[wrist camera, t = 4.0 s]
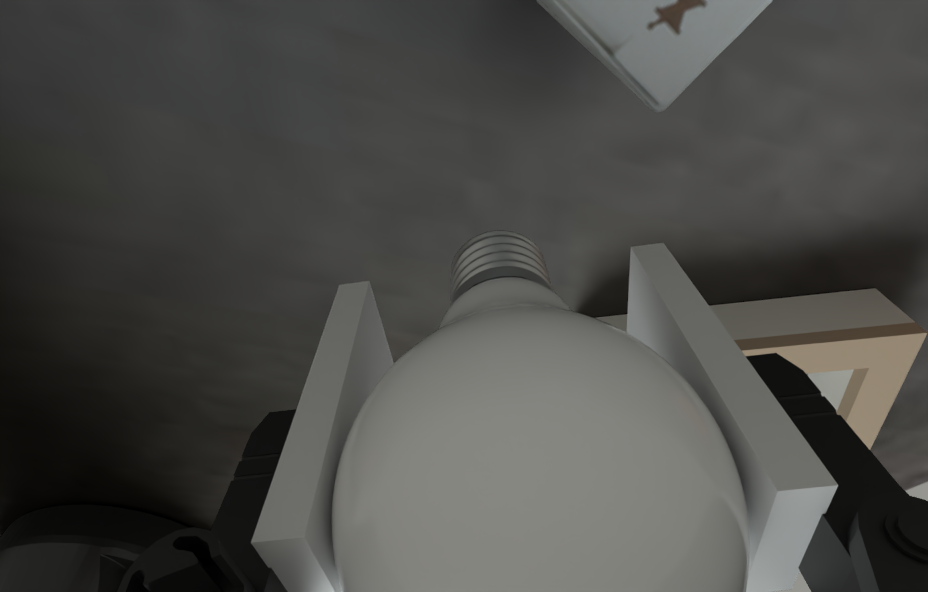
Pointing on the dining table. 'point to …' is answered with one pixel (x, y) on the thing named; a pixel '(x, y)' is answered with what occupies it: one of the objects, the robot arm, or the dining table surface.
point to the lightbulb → (534, 454)
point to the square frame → (831, 346)
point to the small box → (655, 38)
